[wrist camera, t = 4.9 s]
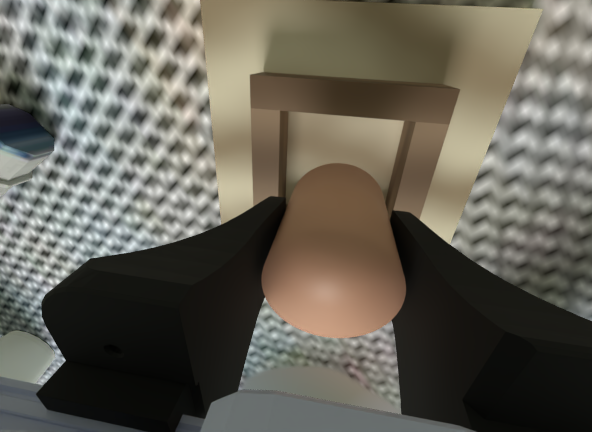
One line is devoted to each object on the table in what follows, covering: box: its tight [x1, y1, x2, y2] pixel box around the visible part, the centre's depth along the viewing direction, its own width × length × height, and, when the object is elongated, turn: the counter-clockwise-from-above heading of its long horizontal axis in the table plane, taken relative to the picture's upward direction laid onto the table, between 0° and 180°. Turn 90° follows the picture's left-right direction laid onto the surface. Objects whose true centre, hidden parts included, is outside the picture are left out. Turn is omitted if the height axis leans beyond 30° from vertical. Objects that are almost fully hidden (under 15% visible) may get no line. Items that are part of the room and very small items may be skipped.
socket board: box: [200, 0, 543, 244], centre depth 17 cm, size 16×16×4 cm
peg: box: [261, 163, 406, 338], centre depth 10 cm, size 4×4×5 cm
